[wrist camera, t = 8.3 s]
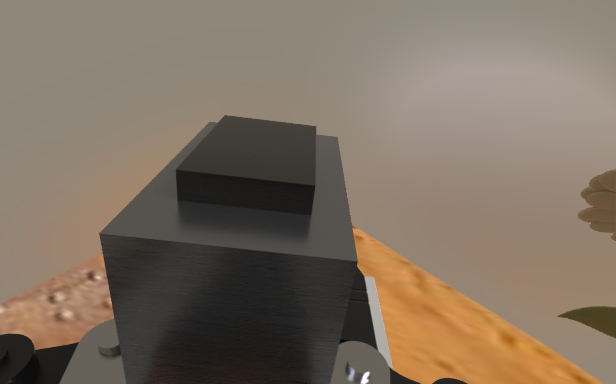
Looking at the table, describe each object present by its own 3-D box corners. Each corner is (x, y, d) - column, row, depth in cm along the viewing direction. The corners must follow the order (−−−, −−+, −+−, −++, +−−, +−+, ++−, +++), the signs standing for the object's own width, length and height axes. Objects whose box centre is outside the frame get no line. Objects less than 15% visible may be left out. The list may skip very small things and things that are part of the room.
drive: (294, 405, 14) (340, 117, 9) (283, 592, 9) (365, 228, 4) (212, 398, 14) (209, 101, 9) (161, 583, 9) (93, 197, 4)
